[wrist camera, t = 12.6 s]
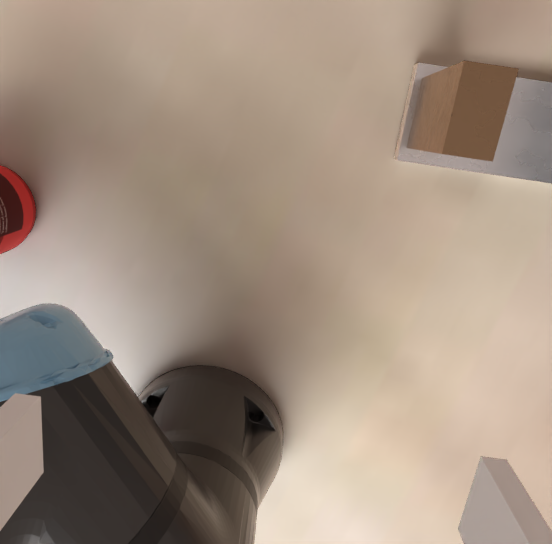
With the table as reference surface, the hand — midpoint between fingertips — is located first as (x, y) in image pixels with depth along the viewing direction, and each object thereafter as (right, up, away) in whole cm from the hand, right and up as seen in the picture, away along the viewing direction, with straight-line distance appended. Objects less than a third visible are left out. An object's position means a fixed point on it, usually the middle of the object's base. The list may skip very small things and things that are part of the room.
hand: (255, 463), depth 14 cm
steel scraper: (+20, +17, +22) cm, 34 cm away
